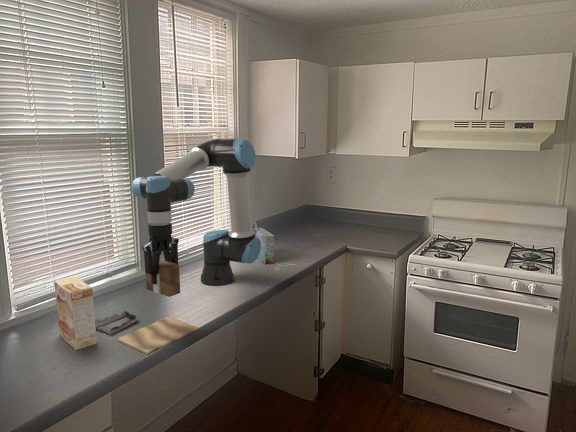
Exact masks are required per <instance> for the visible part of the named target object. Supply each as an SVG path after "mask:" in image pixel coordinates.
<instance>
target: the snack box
mask: <svg viewBox="0 0 576 432" xmlns="http://www.w3.org/2000/svg"><path fill="white" fill-rule="evenodd" d="M252 230H254V231H255V238H256V237H257V238H259V239H260V241H261V250H260V253H259V256H258V258H257V259H259V260H260V261H261V262H262V263H263V262H264V263H265V265H267V263H272V264H275V235H274V234H272V233H271V232H269V231H267V230H266V229H265V228H263V227H254V228H252Z"/></svg>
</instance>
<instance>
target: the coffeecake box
mask: <svg viewBox="0 0 576 432" xmlns="http://www.w3.org/2000/svg"><path fill="white" fill-rule="evenodd" d="M53 283H54V290H55V293H54V294H55V301H56V310H57V311H56V312H57V321H58V323H57V324H58V332H59V336H60V337H61V338H62V339H63V341H65V342H66V343H67V344H69V346H70V347H72V348H73V349H74V350H75V351H78V350H79V351H80V350H82V349H84V348H87V347H92V346H93V345H97V344H98V339H97V329H96V327H95V321H96V317H95V316H96V315H95V305H94V295H93V294H94V293H93V287H92V286H90V285H88V284H87V283H86V282H84V281H83V280H81V279H79V278H78V277H76V276H72V277H67V278H59V279H56V280H54V281H53Z"/></svg>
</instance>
